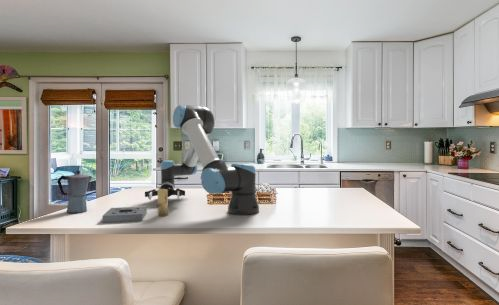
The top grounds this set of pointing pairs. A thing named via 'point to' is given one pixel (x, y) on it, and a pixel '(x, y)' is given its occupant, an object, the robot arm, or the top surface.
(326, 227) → the top surface
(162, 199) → the tan peg
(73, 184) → the moka pot
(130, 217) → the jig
